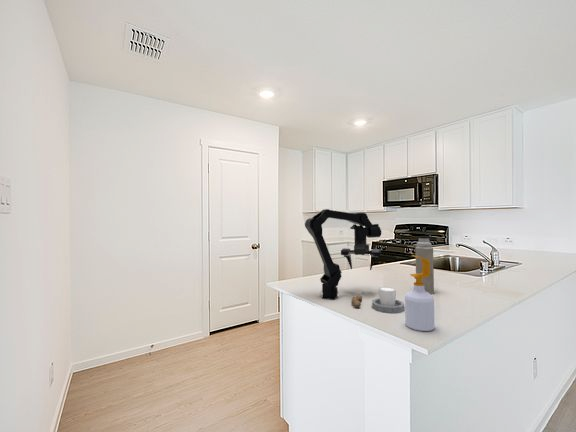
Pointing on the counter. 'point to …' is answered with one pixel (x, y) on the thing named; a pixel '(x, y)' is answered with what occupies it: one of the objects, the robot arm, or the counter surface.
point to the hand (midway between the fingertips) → (360, 269)
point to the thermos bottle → (426, 252)
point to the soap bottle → (420, 302)
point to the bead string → (356, 301)
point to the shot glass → (387, 296)
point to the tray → (387, 309)
